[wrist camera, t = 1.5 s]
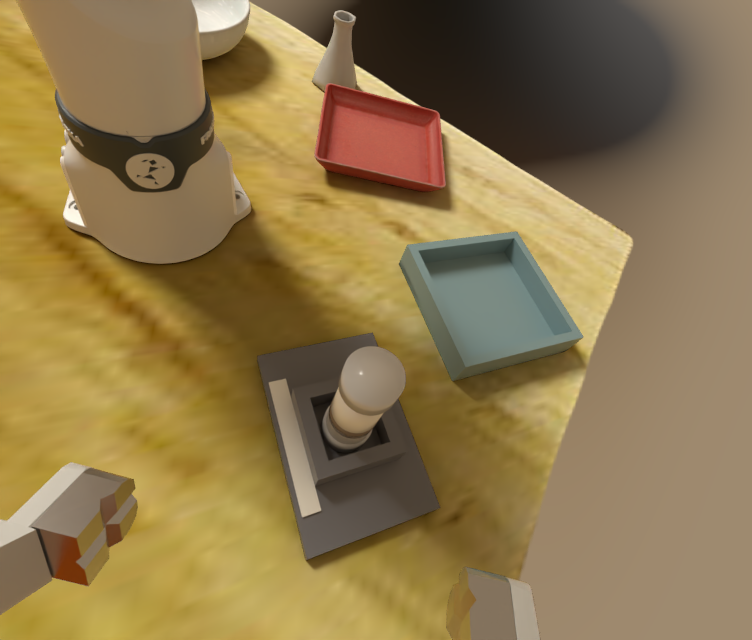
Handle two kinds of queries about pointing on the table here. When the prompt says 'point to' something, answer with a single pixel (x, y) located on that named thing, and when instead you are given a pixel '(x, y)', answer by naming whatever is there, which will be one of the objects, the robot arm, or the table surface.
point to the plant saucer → (380, 139)
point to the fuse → (362, 397)
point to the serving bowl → (220, 25)
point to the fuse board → (335, 469)
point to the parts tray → (486, 303)
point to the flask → (338, 55)
